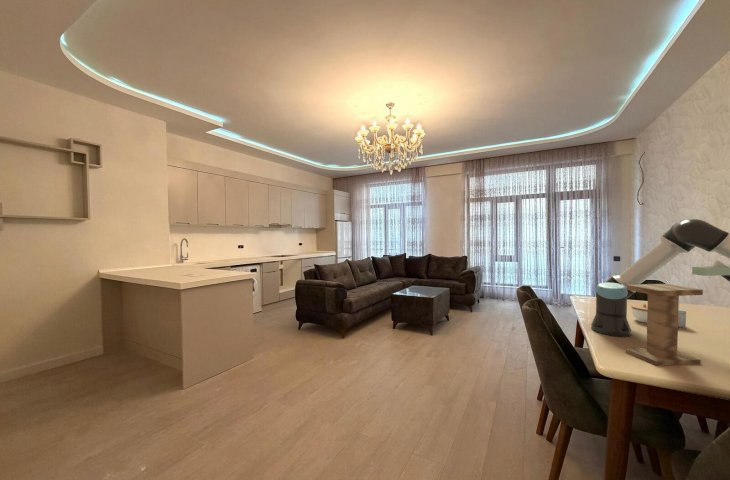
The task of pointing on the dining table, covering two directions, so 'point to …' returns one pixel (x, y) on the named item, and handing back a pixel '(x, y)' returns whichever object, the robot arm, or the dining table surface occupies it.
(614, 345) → the dining table surface
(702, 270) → the sage bar
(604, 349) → the dining table surface
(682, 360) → the walnut stand
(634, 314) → the lidded jar
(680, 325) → the medicine box
